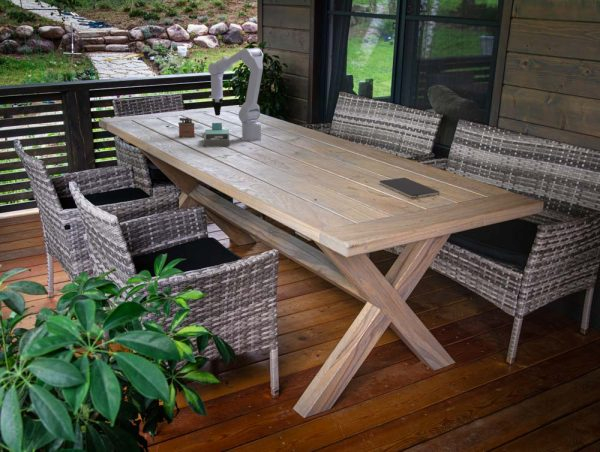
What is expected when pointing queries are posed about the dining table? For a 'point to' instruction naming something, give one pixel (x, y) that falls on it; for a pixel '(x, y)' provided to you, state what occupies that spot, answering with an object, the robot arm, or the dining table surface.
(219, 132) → the lid
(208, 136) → the tub
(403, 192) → the notebook
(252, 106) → the robot arm
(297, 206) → the dining table surface
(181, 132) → the lighter
